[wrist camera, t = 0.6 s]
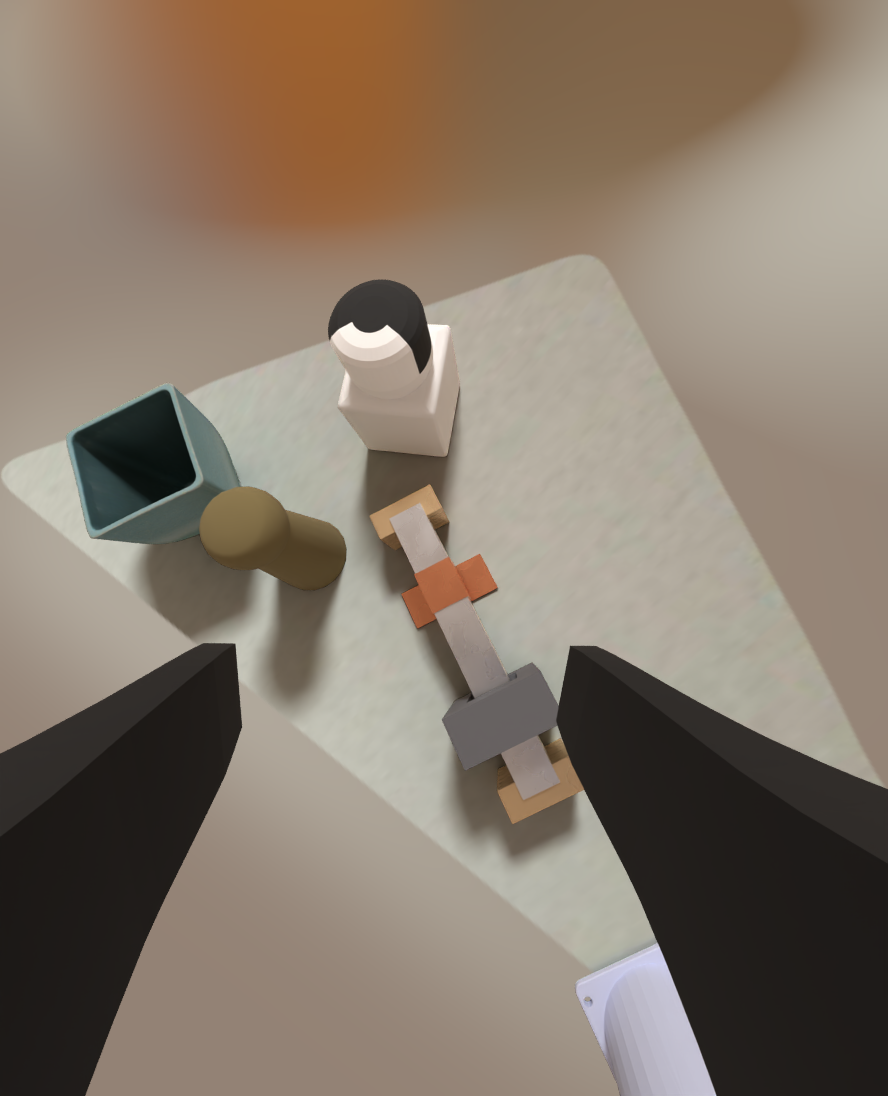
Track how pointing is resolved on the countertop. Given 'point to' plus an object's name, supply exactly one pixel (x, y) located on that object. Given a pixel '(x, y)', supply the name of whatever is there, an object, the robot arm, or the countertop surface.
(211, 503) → the brown pawn figure
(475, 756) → the collar
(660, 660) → the countertop surface
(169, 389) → the flower pot
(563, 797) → the rail
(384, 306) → the medicine bottle
